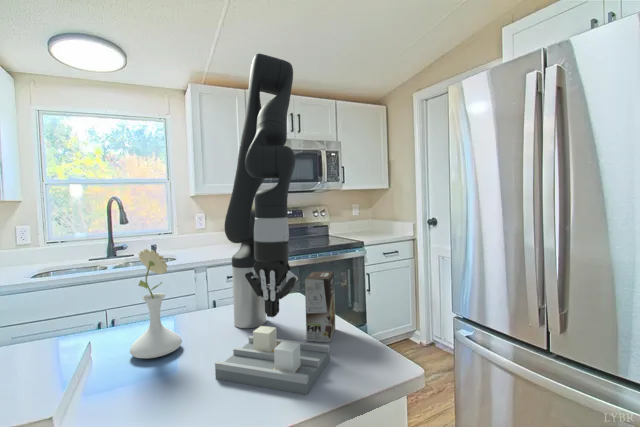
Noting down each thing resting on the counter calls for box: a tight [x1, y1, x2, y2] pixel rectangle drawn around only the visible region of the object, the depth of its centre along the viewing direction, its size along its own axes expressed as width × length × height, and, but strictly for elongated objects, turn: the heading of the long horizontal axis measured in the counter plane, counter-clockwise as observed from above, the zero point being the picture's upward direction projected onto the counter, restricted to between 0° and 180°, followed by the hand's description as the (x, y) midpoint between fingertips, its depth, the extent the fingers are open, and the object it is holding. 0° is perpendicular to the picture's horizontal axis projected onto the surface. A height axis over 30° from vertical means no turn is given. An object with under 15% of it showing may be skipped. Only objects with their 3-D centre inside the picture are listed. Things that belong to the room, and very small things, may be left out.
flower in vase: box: [129, 248, 183, 359], centre depth 81 cm, size 13×11×25 cm
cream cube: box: [252, 325, 278, 352], centre depth 76 cm, size 4×4×4 cm
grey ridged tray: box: [214, 335, 331, 396], centre depth 72 cm, size 20×14×3 cm
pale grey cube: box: [274, 342, 301, 373], centre depth 67 cm, size 4×4×4 cm
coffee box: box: [304, 271, 336, 343], centre depth 88 cm, size 9×6×16 cm
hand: (272, 315), depth 74 cm, fingers closed
